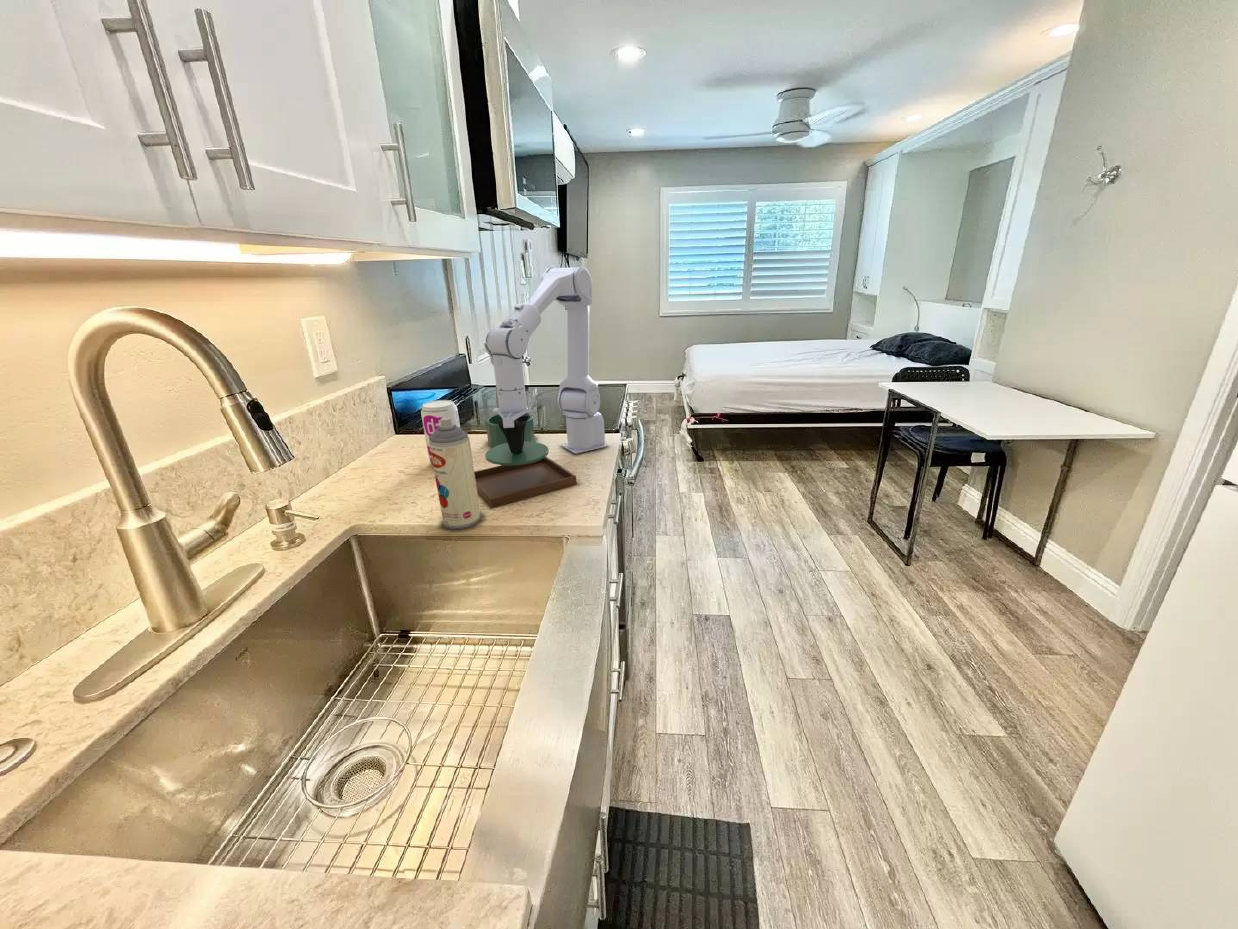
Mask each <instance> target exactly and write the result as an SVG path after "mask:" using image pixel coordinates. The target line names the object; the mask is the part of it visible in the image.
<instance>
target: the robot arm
mask: <svg viewBox="0 0 1238 929" xmlns="http://www.w3.org/2000/svg"><path fill="white" fill-rule="evenodd" d="M553 302H557V303H558V304H560V305H562V306H563V307H564V308H565V310H566V311H567V377H566V378H564V379H563V380H562V381H561V382H560V383H559V390H558V394H557V399H556V400H557V403H556V404H557V406H558V408H559V410H560V411H561V412H562V415H563V416H564V417H565V424H566V425H565V426H566V440H567V441H566V443H565V442H564V443H561V447H562V448H564V449H566V450H568V451H570V452H571V453H572V454H575V455H577V454H582V453H586V452H590V451H594V450H598V449H603V448H606V447H607V444H606V433H605V420H604V417H603V415H602V413H600V411H599V410H600V407H601V396H600V391H599V390H600V389H599V384H598V383H597V382H596V381H594V379H592V378H591V377H590V376H589V374H590V371H589V370H590V306H591V305H592V304H593V277H592V275H591V274H590V272H589V270H588V269H587V267H585V266H576V267H575V266H573V267H570V266H569V267H553V266H550V267H547V268H546V269H545V271H544V272H543V273H542V274H541V275H540V284H539V285H538V287H537V288H536V290H535V291H534V293H533V294H532V295H531V297H530V298H529V300H528V301H527V302H520V303H516V304H515V305H514V306H513V310H512V311H511V312H510V314H509V315H508V316H507V317H506V318H505V319H503V321H502V323H501V324H500V325H499V327H492V328H491V329H490V330H489V331H488V332H487V334H486V336H485V342H484V343H483V344H484V345H483V346H484V349H485V351H486V353H487V354H488V356H489V359H490V364H491V365H492V366H493V371H494V379H495V380H494V381H495V390H496V396H497V397H496V398H497V403H498V404H497V405H498V407H495V408H494V409H493V410H492V411H493V415H497V414H499V415H500V416H501V418H502V420H503V421H499V423H498V426H499V428H500V429H501V430H502V432H503V433H504V435H505V437H506V440H507V442H508V445H509V448H510V451H511V453H521V451H522V448H523V446H524V437H525V428H526V423H527V420H528V417H529V414H530V413H528V412H529V407H528V406H527V396H526V386H525V385H526V384H525V375H524V374H525V373H524V365H523V356H524V355H526V352H527V350H528V344H529V342H530V337H532V335H533V334H534V332H535V331H536V329H537V328H538V327H539V326H540V325H541V322H542V316H541V314H543V313H544V312H545V310H547V308H549V307H550V305H551V304H552V303H553Z"/></svg>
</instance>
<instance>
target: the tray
mask: <svg viewBox="0 0 1238 929" xmlns="http://www.w3.org/2000/svg"><path fill="white" fill-rule="evenodd" d="M474 473H475V480H476V487H477V493H478V495H479V496H480V497H481V498H482V499H483V500H484V501H485V502H486V503H487V504H488V506H490V508H496V507H499V506H503V505H506V504H511V503H513V502H518V501H521V500H525V499H528V498H533V497H536V496H540V495H543V494H546V493H550V492H553V491H557V490H562V489H564V488H568V487H572V486H575V485H577V483H578V482H577V476H576V475H575V474H573V473H572V472H571V471H569V470H568V469H566V468H565V467H563V466H562V465H560V464H558V463H557V462H555V461H554V460H552V458H549V457H548V456H546V457H544V458H543V459H541V460H538V461H536V462H532V463H528V464H523V465H512V466H507V465H496V466H492V467H487V468H483V469H479V470H474Z"/></svg>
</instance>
